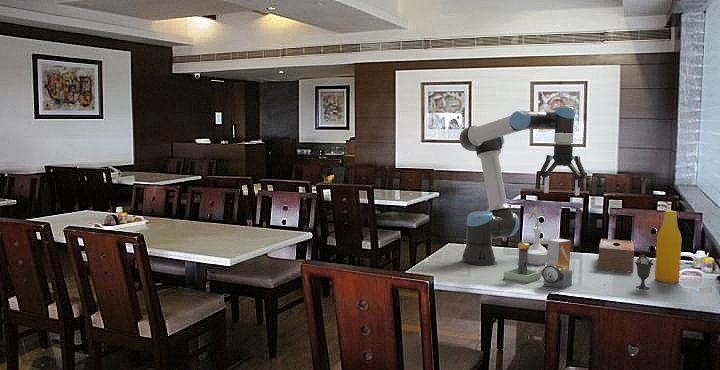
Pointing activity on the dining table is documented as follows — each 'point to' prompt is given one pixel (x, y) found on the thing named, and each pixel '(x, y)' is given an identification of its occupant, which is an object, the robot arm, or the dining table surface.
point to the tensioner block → (557, 276)
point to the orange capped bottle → (523, 258)
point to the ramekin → (537, 257)
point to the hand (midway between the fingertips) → (561, 194)
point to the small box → (558, 252)
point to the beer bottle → (668, 249)
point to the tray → (528, 278)
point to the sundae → (643, 269)
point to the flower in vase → (536, 234)
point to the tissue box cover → (616, 255)
